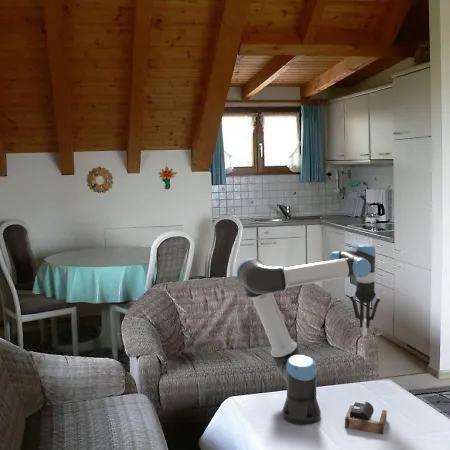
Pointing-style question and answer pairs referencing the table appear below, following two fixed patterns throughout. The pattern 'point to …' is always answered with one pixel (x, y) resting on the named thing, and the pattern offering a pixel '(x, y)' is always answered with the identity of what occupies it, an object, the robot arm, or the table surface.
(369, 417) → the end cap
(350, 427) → the corral
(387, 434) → the table surface
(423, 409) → the table surface
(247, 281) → the robot arm
